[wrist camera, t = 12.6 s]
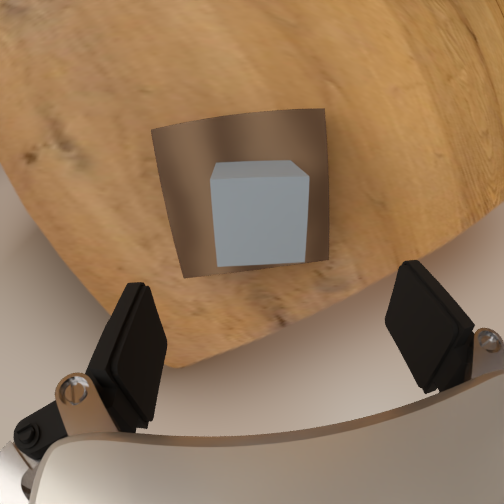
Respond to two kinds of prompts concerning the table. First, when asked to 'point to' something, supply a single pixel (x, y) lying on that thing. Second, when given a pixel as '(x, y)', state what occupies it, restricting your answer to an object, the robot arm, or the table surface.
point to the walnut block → (235, 150)
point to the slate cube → (259, 212)
